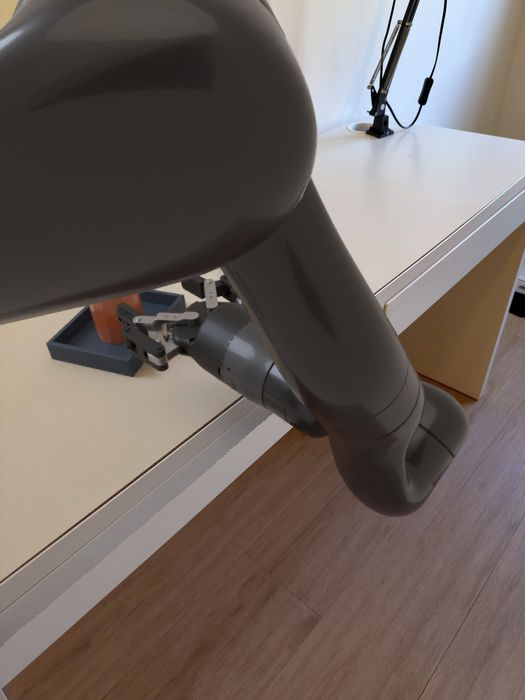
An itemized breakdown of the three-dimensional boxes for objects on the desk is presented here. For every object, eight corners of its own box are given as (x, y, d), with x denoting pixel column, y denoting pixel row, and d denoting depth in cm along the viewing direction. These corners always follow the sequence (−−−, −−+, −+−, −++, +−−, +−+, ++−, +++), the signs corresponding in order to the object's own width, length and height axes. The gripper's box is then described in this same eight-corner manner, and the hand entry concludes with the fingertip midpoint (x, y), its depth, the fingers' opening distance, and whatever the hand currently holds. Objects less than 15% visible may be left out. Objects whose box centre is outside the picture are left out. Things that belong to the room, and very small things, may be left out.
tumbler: (130, 348, 69) (115, 290, 63) (88, 339, 71) (69, 282, 65) (155, 320, 74) (143, 263, 68) (115, 312, 76) (100, 256, 70)
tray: (132, 377, 65) (128, 361, 64) (51, 358, 69) (45, 343, 67) (186, 309, 76) (184, 294, 75) (114, 296, 80) (110, 282, 78)
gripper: (303, 291, 51) (197, 240, 61) (190, 361, 44) (88, 291, 53) (303, 350, 56) (204, 295, 65) (201, 423, 48) (105, 349, 58)
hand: (152, 294), depth 59 cm, fingers open, 8 cm apart
